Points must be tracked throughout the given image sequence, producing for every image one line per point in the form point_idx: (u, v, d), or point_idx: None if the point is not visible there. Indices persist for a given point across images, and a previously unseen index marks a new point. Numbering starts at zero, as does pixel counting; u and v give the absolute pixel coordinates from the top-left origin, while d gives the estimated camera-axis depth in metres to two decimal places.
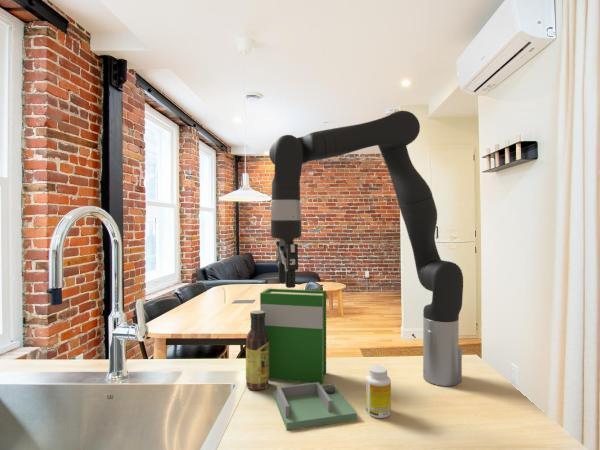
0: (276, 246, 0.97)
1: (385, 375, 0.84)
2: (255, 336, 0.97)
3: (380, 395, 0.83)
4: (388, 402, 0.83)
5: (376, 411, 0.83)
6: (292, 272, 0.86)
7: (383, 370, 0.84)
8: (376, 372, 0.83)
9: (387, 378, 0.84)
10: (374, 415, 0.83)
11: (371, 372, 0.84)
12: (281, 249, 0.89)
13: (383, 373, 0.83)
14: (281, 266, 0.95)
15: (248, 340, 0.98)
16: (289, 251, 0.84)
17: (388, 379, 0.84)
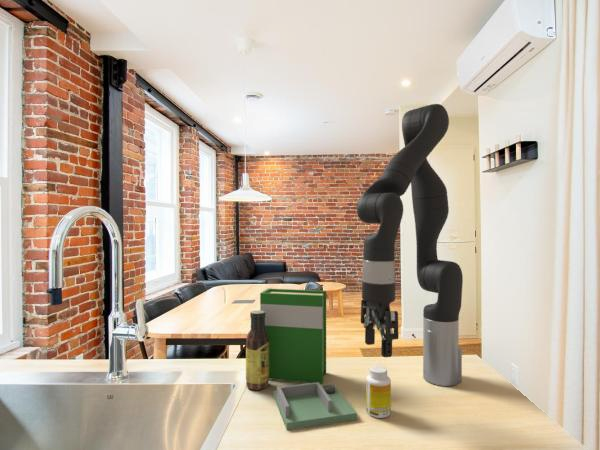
0: (361, 305, 0.91)
1: (385, 375, 0.84)
2: (255, 336, 0.97)
3: (380, 395, 0.83)
4: (388, 402, 0.83)
5: (376, 411, 0.83)
6: (390, 341, 0.80)
7: (383, 370, 0.84)
8: (376, 372, 0.83)
9: (387, 378, 0.84)
10: (374, 415, 0.83)
11: (371, 372, 0.84)
12: (375, 314, 0.83)
13: (383, 373, 0.83)
14: (368, 328, 0.89)
15: (248, 340, 0.98)
16: (389, 320, 0.78)
17: (388, 379, 0.84)
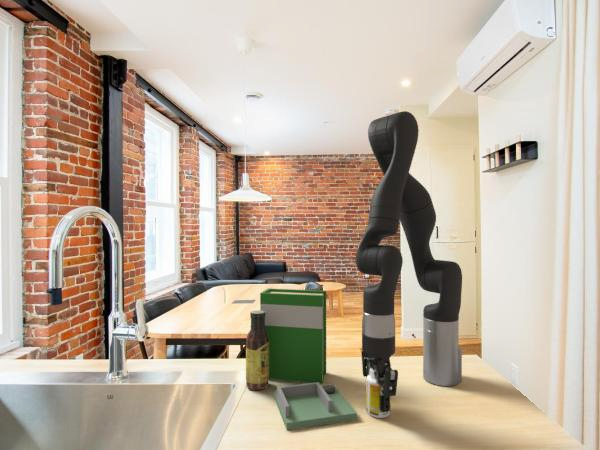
0: (362, 357, 0.91)
1: None
2: (255, 336, 0.97)
3: None
4: None
5: (376, 411, 0.83)
6: (388, 396, 0.81)
7: None
8: None
9: None
10: (374, 415, 0.83)
11: (371, 372, 0.84)
12: (375, 368, 0.83)
13: None
14: None
15: (248, 340, 0.98)
16: (389, 379, 0.79)
17: None
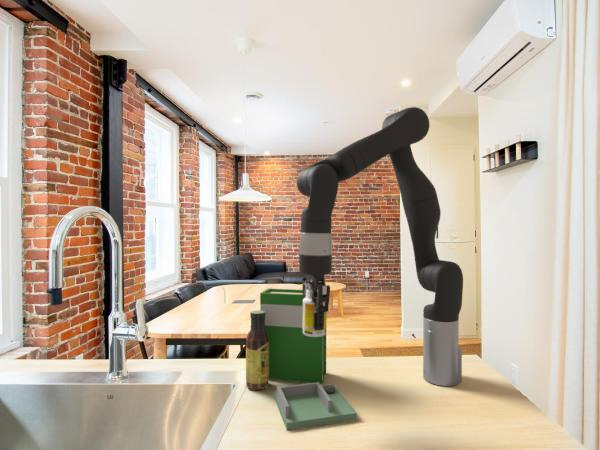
0: (302, 283, 0.91)
1: None
2: (255, 336, 0.97)
3: None
4: None
5: (310, 330, 0.83)
6: (321, 314, 0.81)
7: None
8: None
9: None
10: (308, 334, 0.83)
11: (307, 293, 0.84)
12: (310, 287, 0.83)
13: None
14: None
15: (248, 340, 0.98)
16: (320, 294, 0.79)
17: None
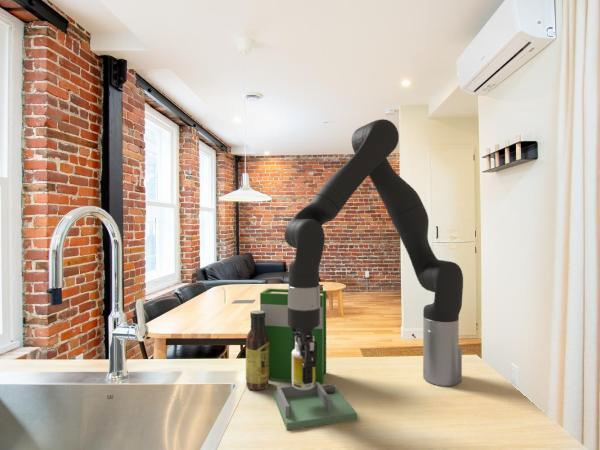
0: (292, 332, 0.92)
1: None
2: (255, 336, 0.97)
3: None
4: None
5: (299, 383, 0.83)
6: (309, 368, 0.82)
7: None
8: None
9: None
10: (297, 387, 0.84)
11: (295, 345, 0.85)
12: (299, 340, 0.83)
13: None
14: None
15: (248, 340, 0.98)
16: (308, 350, 0.79)
17: None
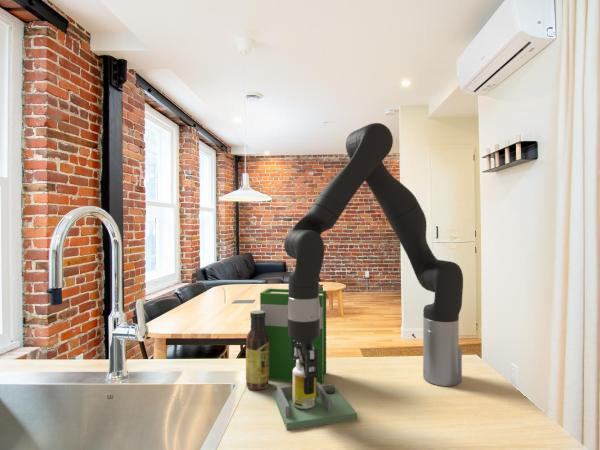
0: None
1: None
2: (255, 336, 0.97)
3: None
4: None
5: (300, 402, 0.83)
6: (311, 379, 0.81)
7: None
8: None
9: None
10: (298, 406, 0.84)
11: (296, 363, 0.85)
12: (299, 351, 0.83)
13: None
14: None
15: (248, 340, 0.98)
16: (308, 358, 0.79)
17: None
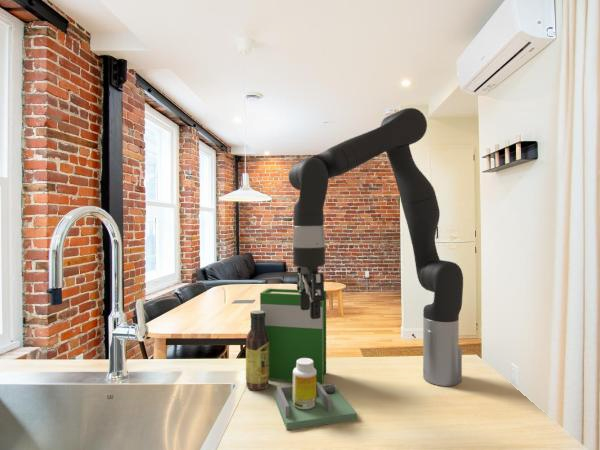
0: (297, 272, 0.93)
1: (311, 367, 0.85)
2: (255, 336, 0.97)
3: (304, 387, 0.83)
4: (313, 393, 0.84)
5: (301, 403, 0.83)
6: (317, 303, 0.82)
7: (309, 362, 0.85)
8: (302, 364, 0.84)
9: (313, 370, 0.85)
10: (299, 407, 0.84)
11: (297, 364, 0.85)
12: (305, 278, 0.84)
13: (308, 365, 0.84)
14: (303, 293, 0.91)
15: (248, 340, 0.98)
16: (315, 281, 0.80)
17: (314, 371, 0.85)
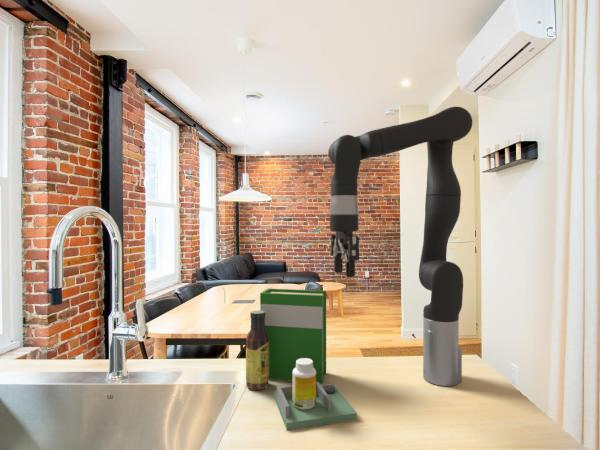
0: (331, 239, 1.04)
1: (311, 367, 0.85)
2: (255, 336, 0.97)
3: (304, 387, 0.83)
4: (313, 394, 0.84)
5: (301, 403, 0.83)
6: (352, 262, 0.93)
7: (308, 363, 0.85)
8: (301, 364, 0.84)
9: (312, 370, 0.85)
10: (299, 407, 0.84)
11: (296, 365, 0.85)
12: (341, 241, 0.95)
13: (308, 365, 0.84)
14: (337, 258, 1.02)
15: (248, 340, 0.98)
16: (351, 243, 0.91)
17: (313, 371, 0.85)
